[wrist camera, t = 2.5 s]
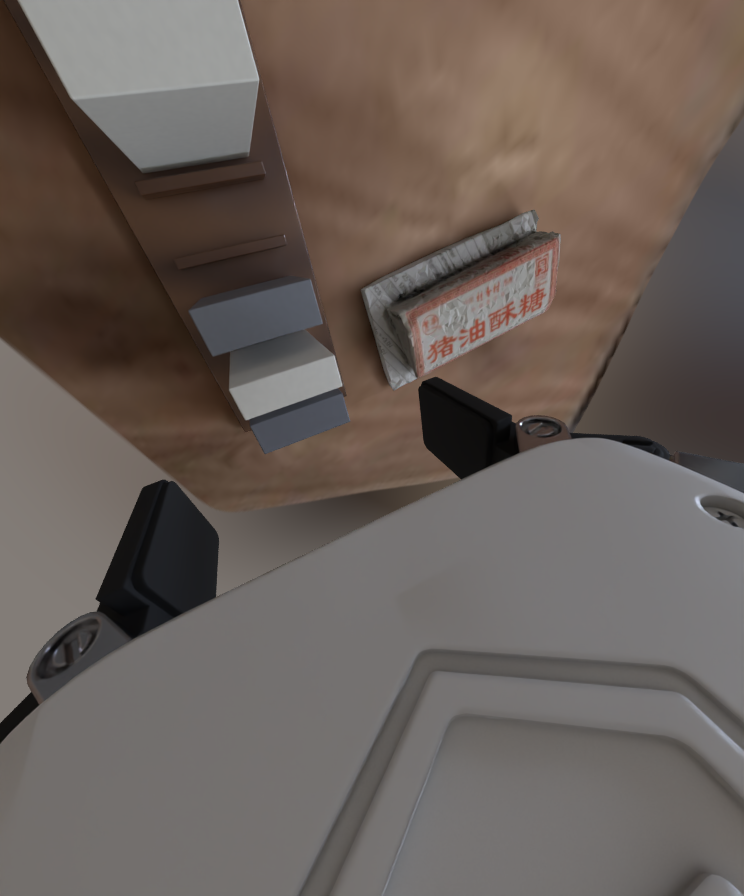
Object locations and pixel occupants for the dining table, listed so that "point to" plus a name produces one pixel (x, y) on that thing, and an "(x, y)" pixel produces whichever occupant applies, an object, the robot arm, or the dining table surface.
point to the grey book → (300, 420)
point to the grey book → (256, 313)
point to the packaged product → (461, 297)
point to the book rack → (203, 215)
